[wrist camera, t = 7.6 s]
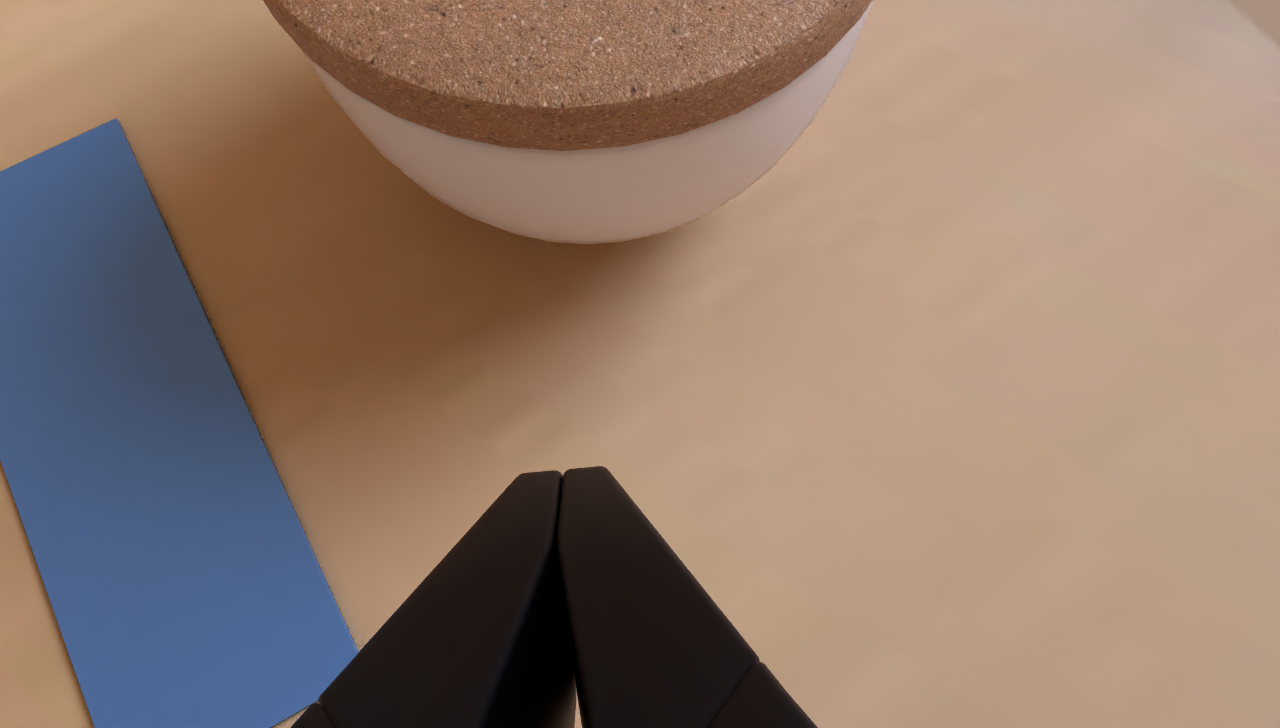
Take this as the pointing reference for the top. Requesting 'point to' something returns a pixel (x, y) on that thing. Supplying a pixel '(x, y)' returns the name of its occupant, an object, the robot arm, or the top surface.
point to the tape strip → (146, 463)
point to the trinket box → (579, 100)
